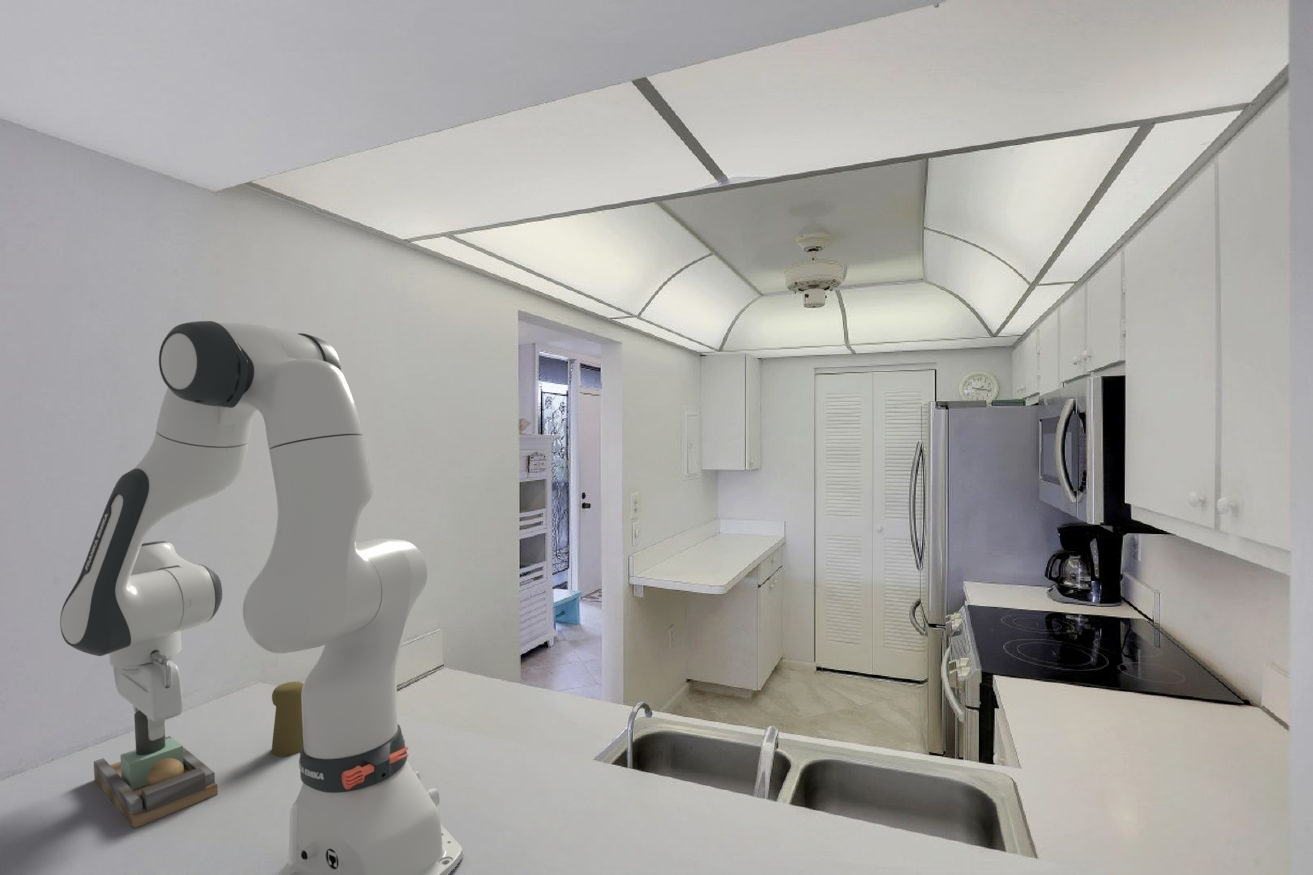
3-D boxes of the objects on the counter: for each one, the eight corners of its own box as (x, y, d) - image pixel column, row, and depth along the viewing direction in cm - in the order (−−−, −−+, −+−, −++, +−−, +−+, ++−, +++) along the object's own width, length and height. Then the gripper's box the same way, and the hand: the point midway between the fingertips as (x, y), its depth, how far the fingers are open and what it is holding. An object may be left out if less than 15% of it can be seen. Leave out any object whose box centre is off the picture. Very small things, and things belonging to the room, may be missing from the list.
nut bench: (217, 793, 96) (216, 767, 96) (134, 828, 88) (133, 799, 88) (170, 753, 109) (169, 730, 109) (94, 779, 101) (93, 754, 101)
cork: (293, 757, 106) (290, 692, 106) (262, 754, 108) (259, 690, 108) (319, 739, 112) (316, 678, 112) (289, 737, 114) (287, 676, 113)
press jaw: (183, 770, 100) (180, 707, 100) (130, 790, 95) (127, 724, 95) (173, 761, 103) (170, 700, 103) (121, 780, 98) (118, 716, 98)
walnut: (188, 786, 96) (187, 757, 96) (152, 800, 92) (151, 770, 92) (179, 777, 98) (177, 749, 98) (143, 791, 95) (142, 762, 95)
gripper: (193, 651, 95) (197, 743, 95) (151, 629, 108) (155, 710, 108) (140, 665, 90) (145, 761, 90) (103, 640, 103) (107, 725, 103)
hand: (150, 733), depth 99 cm, fingers closed on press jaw, 4 cm apart
